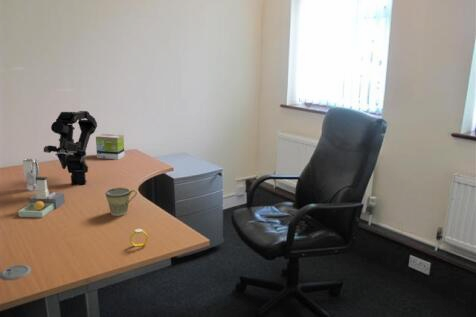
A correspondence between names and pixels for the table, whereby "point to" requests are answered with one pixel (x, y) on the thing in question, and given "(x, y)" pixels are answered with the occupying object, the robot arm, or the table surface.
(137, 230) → the watch
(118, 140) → the tea box
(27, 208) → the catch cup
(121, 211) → the ceramic cup
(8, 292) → the table surface
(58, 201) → the launcher deck
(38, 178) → the beige upright block
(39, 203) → the ball
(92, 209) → the table surface
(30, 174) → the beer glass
